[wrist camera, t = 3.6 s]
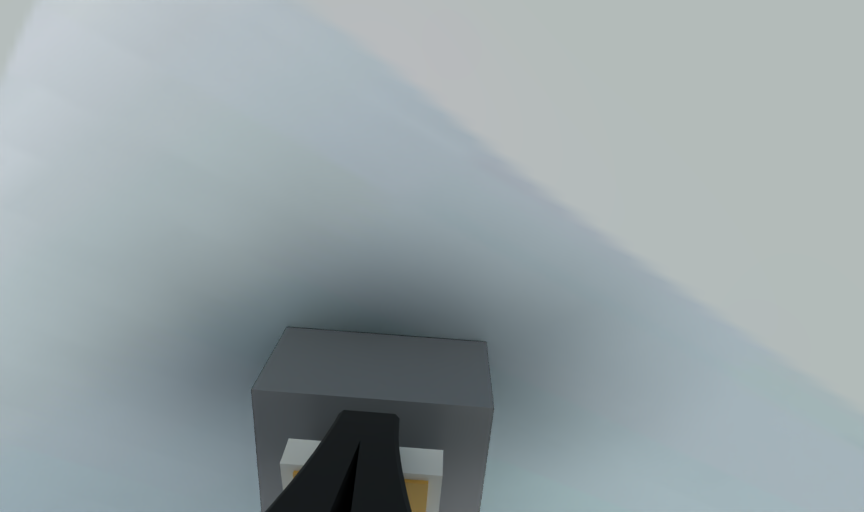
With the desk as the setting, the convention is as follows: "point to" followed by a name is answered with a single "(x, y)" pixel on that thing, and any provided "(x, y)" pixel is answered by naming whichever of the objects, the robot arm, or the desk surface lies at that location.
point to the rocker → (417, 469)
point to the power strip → (378, 400)
